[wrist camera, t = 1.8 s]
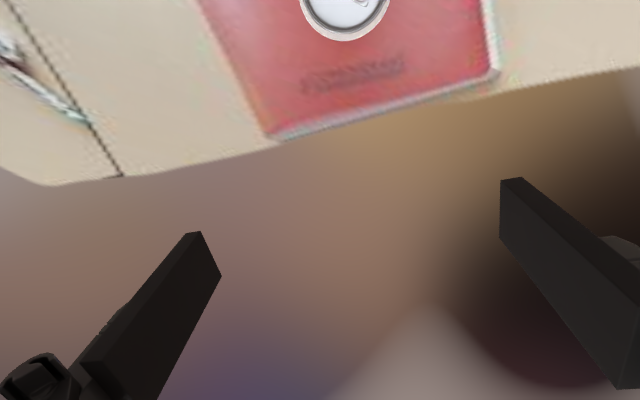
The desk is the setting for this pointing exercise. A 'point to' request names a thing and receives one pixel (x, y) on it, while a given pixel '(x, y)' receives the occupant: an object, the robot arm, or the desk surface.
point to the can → (344, 17)
